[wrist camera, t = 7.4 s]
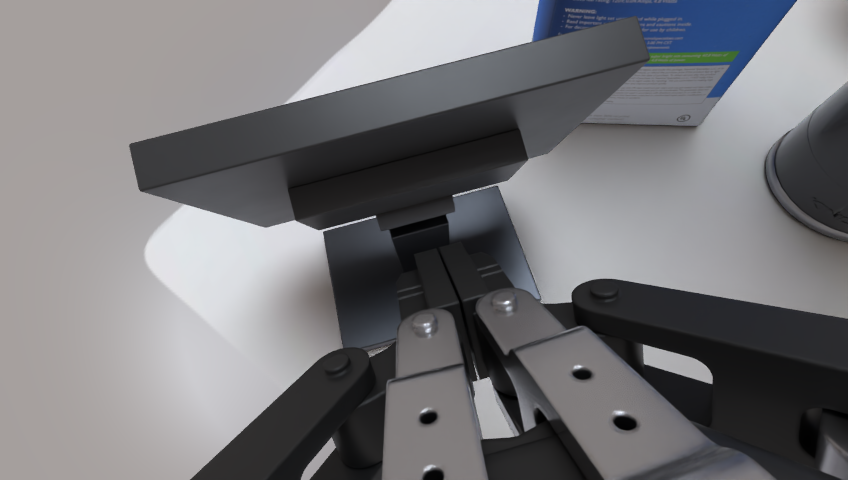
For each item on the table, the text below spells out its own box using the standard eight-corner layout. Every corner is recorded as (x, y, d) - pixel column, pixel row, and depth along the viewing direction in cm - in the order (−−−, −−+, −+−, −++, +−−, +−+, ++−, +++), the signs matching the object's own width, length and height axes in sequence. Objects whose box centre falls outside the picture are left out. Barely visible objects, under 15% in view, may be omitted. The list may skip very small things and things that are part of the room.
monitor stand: (327, 238, 31) (290, 186, 24) (496, 193, 32) (506, 130, 25) (348, 356, 28) (312, 333, 21) (538, 304, 28) (564, 265, 21)
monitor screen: (258, 199, 24) (126, 140, 13) (540, 126, 25) (636, 11, 14) (274, 265, 24) (153, 259, 13) (559, 189, 25) (672, 123, 14)
